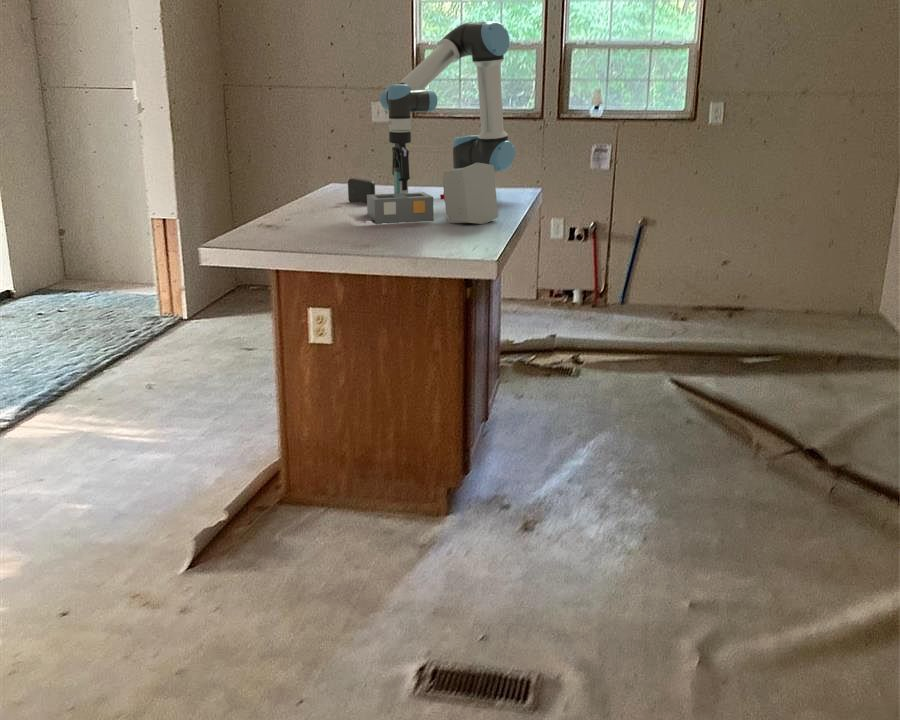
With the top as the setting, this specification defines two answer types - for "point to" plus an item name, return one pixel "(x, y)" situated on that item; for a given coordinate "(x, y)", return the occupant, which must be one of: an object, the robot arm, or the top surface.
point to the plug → (396, 180)
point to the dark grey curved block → (360, 189)
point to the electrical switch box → (470, 194)
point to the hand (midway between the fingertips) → (401, 197)
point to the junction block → (400, 207)
